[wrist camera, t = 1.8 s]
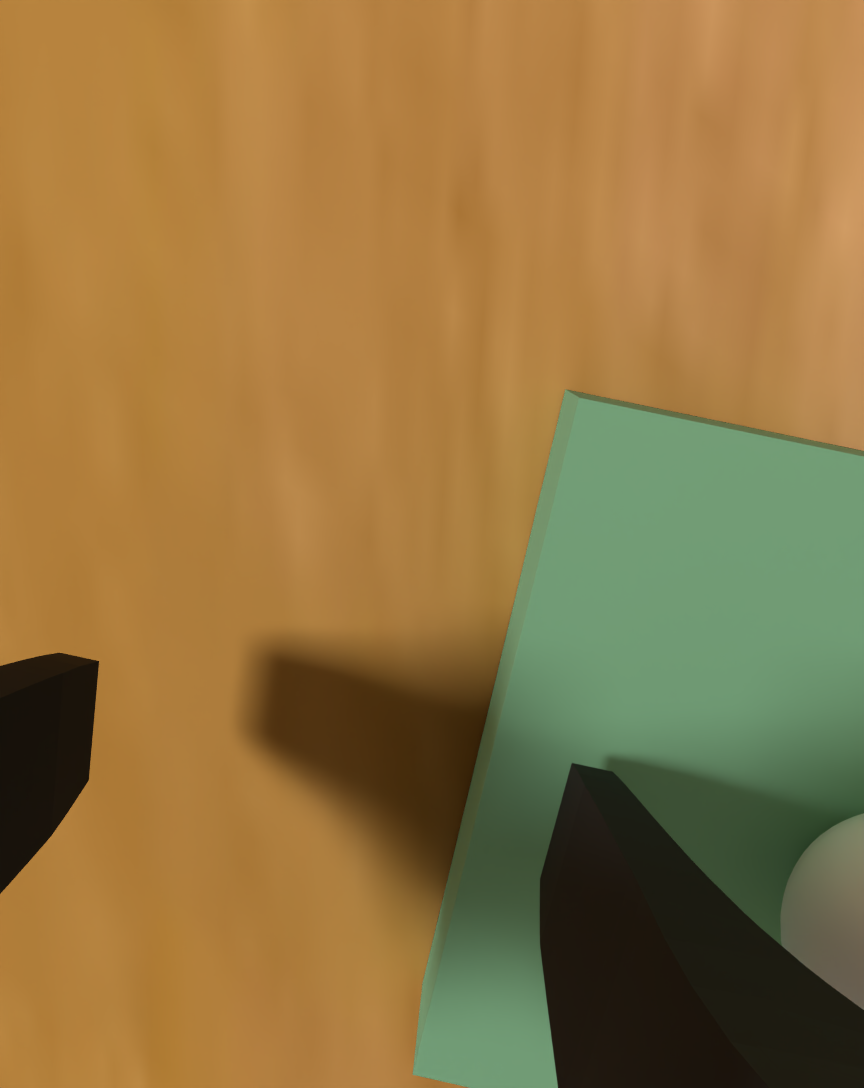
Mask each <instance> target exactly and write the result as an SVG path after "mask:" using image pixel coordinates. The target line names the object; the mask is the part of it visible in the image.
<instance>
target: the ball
mask: <svg viewBox="0 0 864 1088" xmlns="http://www.w3.org/2000/svg"><path fill="white" fill-rule="evenodd" d="M780 924H781V944H782V946H783V947H784V948H785V949H786V950H787V951H788V952H790V953H791V954H792V955H793V956H794V957H795V958H797V959H798V960H799V961H800V962H801V963H803V964H804V965H805V966H806V967H807V968H809V969H810V970H811V971H813V972H814V973H815V974H816V975H818V976H819V977H820V978H821V979H823V980H824V981H825V982H827V983H828V984H829V985H830V986H832V987H833V988H834V989H836V990H837V991H839V992H840V993H841V994H843V995H844V996H845V997H847V998H848V999H849V1000H851V1001H852V1002H854V1003H855V1004H856V1005H858V1006H859V1007H860V1008H862V1009H863V1010H864V813H863V814H860V815H856V816H854V817H851V818H849V819H846V820H844V821H842V822H840V823H838V824H837V825H835V826H833V827H831V828H830V829H828V830H827V831H826V832H824V833H823V834H821V835H820V836H819V837H818V838H817V839H816V840H815V841H813V842H812V843H811V844H810V845H809V847H808V848H807V849H806V850H805V851H804V852H803V854H802V855H801V857H800V858H799V860H798V862H797V863H796V865H795V867H794V868H793V870H792V873H791V875H790V877H789V879H788V881H787V885H786V888H785V891H784V896H783V900H782V907H781V914H780Z"/></svg>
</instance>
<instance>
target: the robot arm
mask: <svg viewBox="0 0 864 1088" xmlns="http://www.w3.org/2000/svg"><path fill="white" fill-rule="evenodd" d="M98 667H99V661H96V660H91V659H86V658H82V657H77V656H72V655H68V654H63V653H55V654H49V655H43V656H38V657H34V658H30V659H26V660H22V661H18V662H14V663H10V664H6V665H3V666H0V893H1V892H2V891H3V890H4V889H5V888H6V887H7V886H8V885H9V883H10V882H11V881H12V880H13V879H14V878H15V877H16V876H17V874H18V873H19V872H20V871H21V870H22V869H23V868H24V866H25V865H26V864H27V863H28V862H29V861H30V860H31V859H32V857H33V856H34V855H35V854H36V853H37V852H38V851H39V849H40V848H41V847H42V846H43V845H44V844H45V843H46V841H47V840H48V839H49V838H50V837H51V835H52V834H53V833H54V831H55V830H56V828H57V827H58V825H59V824H60V823H61V821H62V820H63V818H64V817H65V815H66V814H67V813H68V811H69V810H70V808H71V807H72V805H73V803H74V802H75V800H76V799H77V797H78V796H79V794H80V793H81V791H82V790H83V788H84V787H85V785H86V784H87V782H88V780H89V770H90V758H91V747H92V735H93V724H94V713H95V701H96V690H97V678H98ZM540 949H541V958H542V967H543V975H544V983H545V991H546V999H547V1007H548V1015H549V1022H550V1030H551V1038H552V1046H553V1053H554V1061H555V1069H556V1077H557V1084H558V1088H864V1010H863V1009H862V1008H860V1007H859V1006H858V1005H856V1004H855V1003H854V1002H852V1001H851V1000H849V999H848V998H847V997H845V996H844V995H843V994H841V993H840V992H839V991H837V990H836V989H834V988H833V987H832V986H830V985H829V984H828V983H827V982H825V981H824V980H823V979H821V978H820V977H819V976H818V975H816V974H815V973H814V972H813V971H811V970H810V969H809V968H807V967H806V966H805V965H804V964H803V963H801V962H800V961H799V960H798V959H797V958H795V957H794V956H793V955H792V954H791V953H790V952H788V951H787V950H786V949H785V948H784V947H783V946H781V945H780V944H779V943H778V942H777V941H776V940H774V939H773V938H772V937H771V936H770V935H769V934H767V933H766V932H765V931H764V930H763V929H761V928H760V927H759V926H758V925H757V924H756V923H755V922H754V921H753V920H752V919H751V918H749V917H748V916H747V915H746V914H745V913H744V912H743V911H742V910H741V909H740V908H739V907H738V906H737V905H736V904H735V903H734V902H733V901H732V900H731V899H730V898H729V897H728V896H727V895H726V894H725V893H724V892H723V891H722V890H721V889H720V888H719V887H718V886H717V885H716V884H715V883H714V882H713V881H712V880H710V879H709V877H708V876H707V875H706V874H705V873H704V872H703V871H702V870H701V869H700V868H699V867H698V866H697V865H696V864H695V863H694V862H693V861H692V860H691V858H690V857H689V856H688V855H687V854H686V853H685V852H684V851H683V850H682V849H681V848H680V846H679V845H678V844H677V843H676V842H675V841H674V840H673V839H672V838H671V836H670V835H669V834H668V833H667V832H666V831H665V830H664V829H663V827H662V826H661V825H660V824H659V823H658V822H657V821H656V819H655V818H654V817H653V816H652V815H651V814H650V812H649V811H648V810H647V809H646V808H645V807H644V805H643V804H642V803H641V802H640V801H639V800H638V799H637V797H636V796H635V795H634V794H633V793H632V792H631V790H630V789H629V788H628V787H627V786H626V785H625V784H624V783H623V782H622V780H621V779H620V778H619V777H618V776H617V775H616V774H615V773H614V772H612V771H608V770H603V769H598V768H594V767H589V766H584V765H580V764H575V763H572V764H571V767H570V771H569V775H568V778H567V782H566V786H565V789H564V793H563V797H562V800H561V804H560V808H559V811H558V815H557V819H556V822H555V826H554V830H553V833H552V837H551V840H550V844H549V848H548V851H547V855H546V859H545V862H544V866H543V870H542V873H541V877H540Z"/></svg>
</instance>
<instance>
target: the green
mask: <svg viewBox="0 0 864 1088" xmlns="http://www.w3.org/2000/svg"><path fill="white" fill-rule="evenodd" d="M572 763H575V764H580V765H584V766H589V767H594V768H598V769H603V770H608V771H612V772H614V773H615V774H616V775H617V776H618V777H619V778H620V779H621V780H622V782H623V783H624V784H625V785H626V786H627V787H628V788H629V789H630V790H631V792H632V793H633V794H634V795H635V796H636V797H637V799H638V800H639V801H640V802H641V803H642V804H643V805H644V807H645V808H646V809H647V810H648V811H649V812H650V814H651V815H652V816H653V817H654V818H655V819H656V821H657V822H658V823H659V824H660V825H661V826H662V827H663V829H664V830H665V831H666V832H667V833H668V834H669V835H670V836H671V838H672V839H673V840H674V841H675V842H676V843H677V844H678V845H679V846H680V848H681V849H682V850H683V851H684V852H685V853H686V854H687V855H688V856H689V857H690V858H691V860H692V861H693V862H694V863H695V864H696V865H697V866H698V867H699V868H700V869H701V870H702V871H703V872H704V873H705V874H706V875H707V876H708V877H709V879H710V880H712V881H713V882H714V883H715V884H716V885H717V886H718V887H719V888H720V889H721V890H722V891H723V892H724V893H725V894H726V895H727V896H728V897H729V898H730V899H731V900H732V901H733V902H734V903H735V904H736V905H737V906H738V907H739V908H740V909H741V910H742V911H743V912H744V913H745V914H746V915H747V916H748V917H749V918H751V919H752V920H753V921H754V922H755V923H756V924H757V925H758V926H759V927H760V928H761V929H763V930H764V931H765V932H766V933H767V934H769V935H770V936H771V937H772V938H773V939H774V940H776V941H777V942H778V943H779V944H780V945H781V946H782V944H781V924H780V914H781V907H782V900H783V896H784V891H785V888H786V885H787V881H788V879H789V877H790V875H791V873H792V870H793V868H794V867H795V865H796V863H797V862H798V860H799V858H800V857H801V855H802V854H803V852H804V851H805V850H806V849H807V848H808V847H809V845H810V844H811V843H812V842H813V841H815V840H816V839H817V838H818V837H819V836H820V835H821V834H823V833H824V832H826V831H827V830H828V829H830V828H831V827H833V826H835V825H837V824H838V823H840V822H842V821H844V820H846V819H849V818H851V817H854V816H856V815H860V814H863V813H864V451H861V450H856V449H851V448H846V447H842V446H837V445H832V444H827V443H822V442H817V441H813V440H808V439H803V438H798V437H793V436H788V435H784V434H779V433H774V432H769V431H764V430H759V429H755V428H750V427H745V426H740V425H735V424H730V423H726V422H721V421H716V420H711V419H706V418H701V417H697V416H692V415H687V414H682V413H677V412H672V411H668V410H663V409H658V408H653V407H648V406H643V405H639V404H634V403H629V402H624V401H619V400H614V399H610V398H605V397H600V396H595V395H590V394H585V393H581V392H576V391H571V390H566V389H565V393H564V398H563V402H562V406H561V410H560V414H559V418H558V422H557V427H556V431H555V435H554V439H553V443H552V447H551V452H550V456H549V460H548V464H547V468H546V472H545V477H544V481H543V485H542V489H541V493H540V497H539V501H538V506H537V510H536V514H535V518H534V522H533V526H532V531H531V535H530V539H529V543H528V547H527V551H526V556H525V560H524V564H523V568H522V572H521V576H520V581H519V585H518V589H517V593H516V597H515V601H514V605H513V610H512V614H511V618H510V622H509V626H508V630H507V635H506V639H505V643H504V647H503V651H502V655H501V660H500V664H499V668H498V672H497V676H496V680H495V684H494V689H493V693H492V697H491V701H490V705H489V709H488V714H487V718H486V722H485V726H484V730H483V734H482V739H481V743H480V747H479V751H478V755H477V759H476V763H475V768H474V772H473V776H472V780H471V784H470V788H469V793H468V797H467V801H466V805H465V809H464V813H463V818H462V822H461V826H460V830H459V834H458V838H457V842H456V847H455V851H454V855H453V859H452V863H451V867H450V872H449V876H448V880H447V884H446V888H445V892H444V897H443V901H442V905H441V909H440V913H439V917H438V922H437V926H436V930H435V934H434V938H433V942H432V946H431V951H430V955H429V959H428V963H427V967H426V971H425V976H424V980H423V984H422V994H421V1003H420V1012H419V1021H418V1031H417V1040H416V1049H415V1058H414V1068H413V1075H417V1076H421V1077H426V1078H430V1079H434V1080H439V1081H443V1082H448V1083H452V1084H456V1085H461V1086H465V1087H470V1088H558V1084H557V1077H556V1069H555V1061H554V1053H553V1046H552V1038H551V1030H550V1022H549V1015H548V1007H547V999H546V991H545V983H544V975H543V967H542V958H541V949H540V877H541V873H542V870H543V866H544V862H545V859H546V855H547V851H548V848H549V844H550V840H551V837H552V833H553V830H554V826H555V822H556V819H557V815H558V811H559V808H560V804H561V800H562V797H563V793H564V789H565V786H566V782H567V778H568V775H569V771H570V767H571V764H572Z"/></svg>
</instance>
